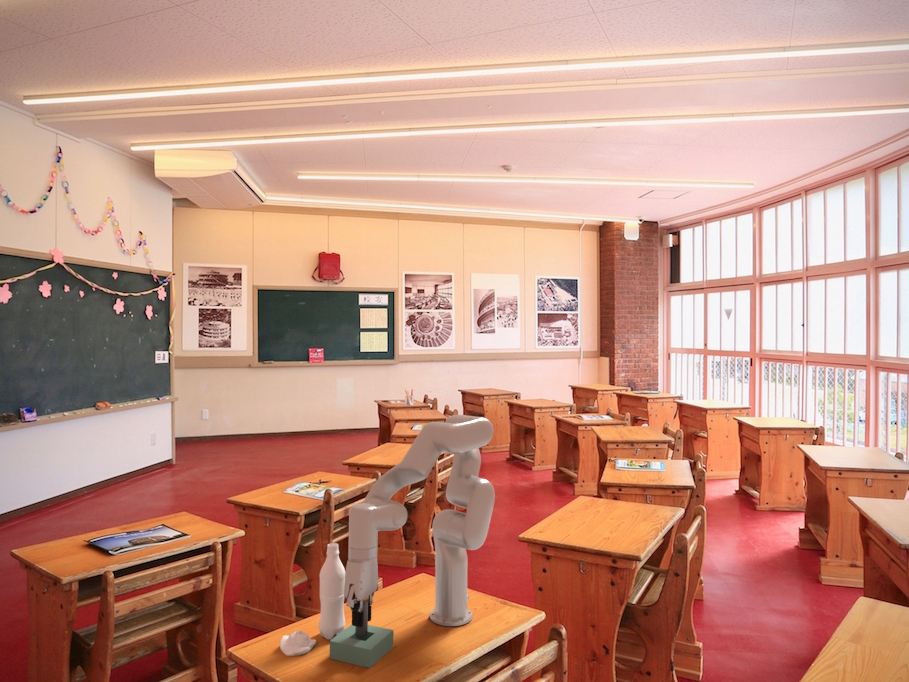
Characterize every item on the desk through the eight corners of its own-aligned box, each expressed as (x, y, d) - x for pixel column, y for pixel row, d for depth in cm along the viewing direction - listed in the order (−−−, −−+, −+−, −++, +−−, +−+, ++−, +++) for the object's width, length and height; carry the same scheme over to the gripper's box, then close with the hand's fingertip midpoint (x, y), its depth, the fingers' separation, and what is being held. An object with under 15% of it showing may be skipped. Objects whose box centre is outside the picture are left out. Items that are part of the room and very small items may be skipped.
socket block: (354, 638, 168) (354, 622, 168) (393, 647, 163) (393, 630, 163) (329, 658, 157) (329, 640, 157) (370, 668, 152) (370, 649, 152)
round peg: (359, 631, 162) (360, 589, 162) (370, 633, 161) (371, 591, 161) (352, 636, 159) (353, 593, 159) (363, 638, 158) (364, 595, 158)
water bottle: (313, 635, 170) (314, 544, 170) (334, 627, 175) (335, 539, 175) (328, 644, 165) (329, 550, 165) (350, 635, 170) (351, 544, 171)
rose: (273, 630, 164) (306, 620, 170) (272, 646, 164) (306, 636, 170) (288, 643, 156) (323, 633, 162) (288, 661, 156) (323, 650, 162)
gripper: (366, 542, 170) (365, 609, 169) (332, 559, 154) (331, 633, 154) (390, 545, 167) (389, 613, 166) (358, 563, 152) (357, 638, 151)
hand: (361, 622), depth 160 cm, fingers closed on round peg, 3 cm apart
